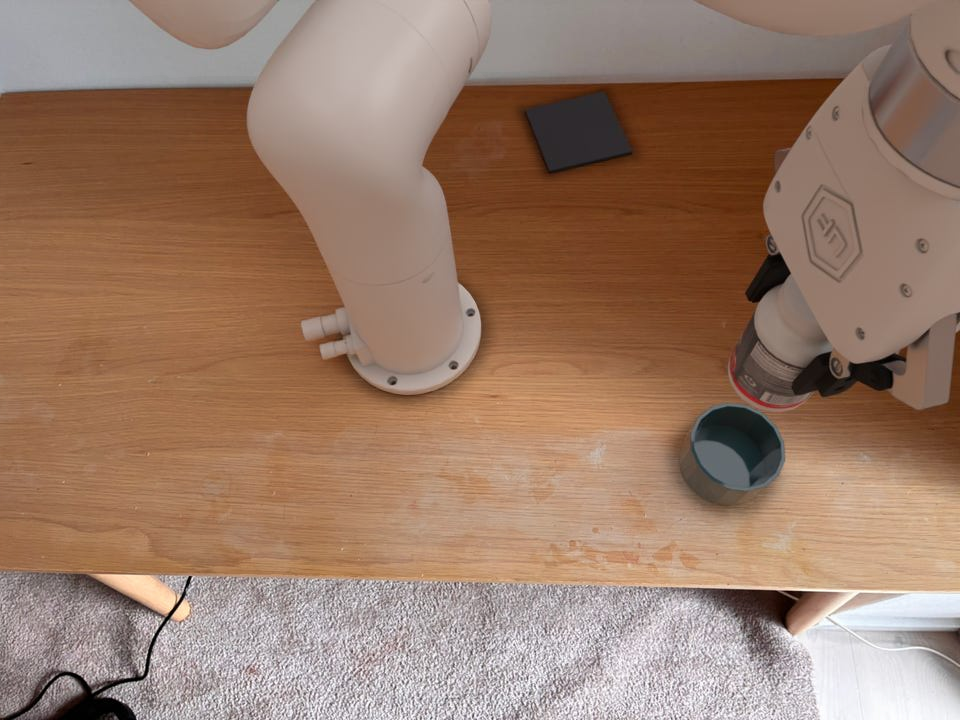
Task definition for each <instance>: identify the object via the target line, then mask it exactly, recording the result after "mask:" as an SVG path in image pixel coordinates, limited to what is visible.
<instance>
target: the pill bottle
mask: <svg viewBox="0 0 960 720" xmlns="http://www.w3.org/2000/svg"><path fill="white" fill-rule="evenodd" d="M832 350H833V346H832V345H831V343H830V342H829V340H828V339H827V337H826V336H825V334H824V332H823V331H822V329H821V327H820V325H819V324H818V322H817V320H816V318H815V316H814V315H813V313H812V311H811V309H810V307H809V305H808V304H807V302H806V300H805V298H804V296H803V294H802V293H801V291H800V289H799V287H798V285H797V283H796V281H795V279H794V278H793V276H792V274H790V275H789V277H788V278H787V279H786V281H785V282H784V283H782V284H780V285H778V286H776V287H774V288H772V289H771V290H770V291H768V292H767V293H766V294H765V295H764V296H763V298H762V299H761V301H760V302H757V306H756V307H755V309H754V311H753V313H752V315H751V317H750V319H749V321H748V323H747V325H746V326H745V328H744V330H743V332H742V333H741V335H740V336H739V338H738V340H737V343H736V344H735V346H734V348H733V349H732V352H731V354H730V356H729V359H728V363H727V373H728V374H727V376H728V379H729V383H730V385H731V387H732V388H733V390H734V391H735V393H736V394H737V395H738V397H739V398H740V399H742V400H743V401H744V402H745V403H747V404H748V405H751V407H754V408H755V409H757V410H758V409H759V410H761V411H765V412H772V413H773V412H774V413H775V412H776V413H781V412H783V413H784V412H789V411H791V410H794V409H796V408H798V407H800V406H801V405H803V404H804V403H805V402H806V401H808V399H810V397H811V396H812V395H813V393H814V392H810V393H806V394H802V395H797V396H796V395H795V394H794V392H793V390H792V388H791V386H792V385H793V384H792V382H793V381H794V379H795V378H796V377H797V376H798V375H799V374H800V373H801V372H802V371H803V370H804V369H805V368H806V367H807V366H808V365H809V363H810V362H811V361H812V360H813V359H814V358H815V357H816V356H818V355H820V354H823V353H827V352H831V351H832Z"/></svg>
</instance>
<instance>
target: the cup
mask: <svg viewBox="0 0 960 720" xmlns="http://www.w3.org/2000/svg"><path fill="white" fill-rule="evenodd" d="M785 462H786V446H785V440H784V439H783V436H782V434H781V432H780V431H779V428H778V426H777V425H776V424H775V423H774V422H773V421H772V420H771V419H770V418H769V417H768V416H767V415H766V414H765V413H764V412H762V411H760V410H758V409H757V408H755V407H754V408H753V406H749V405H747V404H743V403H734V402H725V403H722V404H718V405H713V406H710V407H709V408H707V409H706V410H705V411H704V412H703V413H701V414H700V415H698V417H697V418H696V419H695V421H694V423H693V424H692V426H691V428H690V429H689V430H688V432H687V433H686V435H685V437H684V439H683V440H682V443H681V445H680V448H679V452H678V467H679V471H680V472H681V473H680V474H681V476H682V478H683V480H684V482H685V483H686V485H687V486H688V488H690V490H691V491H692V492H693V493H694V494H696V495H697V496H698V497H700V498H701V499H703V500H704V501H707V502H709V503H712V504H715V505H717V506H725V507H728V506H729V507H731V506H738V505H742V504H745V503H746V502H749V501H751V500H752V499H754V498H755V497H756V496H757V495H758V494H759V493H761V492H762V491H763V490H765V488H766V487H768V486H769V485H770V484H771V483H772V482H773V481H774V480H776V479H777V478H778V477H779V476H780V474H781V471H782V469H783V467H784V465H785Z"/></svg>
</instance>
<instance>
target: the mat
mask: <svg viewBox="0 0 960 720" xmlns="http://www.w3.org/2000/svg"><path fill="white" fill-rule="evenodd" d="M605 92H606V91H600V92H599V91H598V92H595V93H590V94H586V95H583V96H579V97H574V98H570V99H564V100H559V101H556V102H551V103H548V104H543V105H539V106H535V107H531V108H530V107H529V108H526V109H524V113H525V116H526V119H527V121H528V123H529V126H530V128H531V130H532V133H533V136H534V138H535V140H536V143H537V146H538V149H539V151H540V154H541V156H542V158H543V161H544V164H545V166H546V169H547V171H548V173H549V174H553V173H557V172H561V171H564V170H569V169H573V168H577V167H582V166H586V165H591V164H595V163H597V162H598V163H599V162H602V161H607V160H611V159H615V158H619V157H625V156H628V155H632V154H633V153H634V151H633V149H632V147H631V144H630V142H629V140H628V139H627V136H626V134H625V132H624V129H623V128H622V126H621V123H620V121H619V120H618V118H617V116H616V113H615V111H614V109H613V106H612V105H611V103H610V101H609V98H608V96H607V95H606V93H605Z"/></svg>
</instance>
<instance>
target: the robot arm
mask: <svg viewBox="0 0 960 720" xmlns="http://www.w3.org/2000/svg"><path fill="white" fill-rule="evenodd" d="M279 1H280V0H128V2H129V3H131V4H132V5H133V6H134V7H135V8H136V9H137V10H138V11H140V12H141V14H143V15H144V16H145V17H146V18H148V19H149V20H150V21H151V22H152V23H154V24H155V25H156V26H157V27H158V28H160V29H161V30H162V31H163V32H165V33H167V34H168V35H170V36H171V37H173V38H174V39H176V40H177V41H179V42H181V43H183V44H186V45H187V46H190V47H192V48H196V49H202V50H207V51H208V50H210V51H211V50H212V51H213V50H219V49H222V48H225V47H228V46H231V45H232V44H234V43H236V42H237V41H239V40H240V39H242V38H243V37H245V36H246V35H247V34H249V32H251V31H252V30H253V29H254V28H255V27H256V26H258V24H259V23H261V21H262V20H263V19H264V18H266V16H267V15H268V14H269V13H270V11H271V10H272V9H273V8H274V7H275V6H276V5H277V4H278V3H279ZM693 1H694V2H696V3H698V4H700V5H702V6H704V7H706V8H708V9H710V10H713V11H715V12H718V13H719V14H722V15H724V16H727V17H729V18H731V19H733V20H736V21H737V22H740V23H741V24H745V25H748V26H751V27H754V28H759V29H762V30H766V31H771V32H774V33H779V34H784V35H790V36H791V35H792V36H802V37H803V36H804V37H812V38H813V37H814V38H821V37H822V38H823V37H833V36H842V35H852V34H860V33H863V32H867V31H870V30H874V29H877V28H880V27H885V26H888V25H891V24H894V23H895V22H897V21H900V20H902V19H904V18H906V17H907V18H906V20H905V22H904V23H903V25H902V27H901V28H900V30H899V32H898V33H897V35H896V37H895V38H894V40H893V42H892V43H891V44H886V45H882V46H880V47H878V48H875V49H873V50H872V51H870V53H868V54H867V56H865V57H864V58H863V59H862V60H861V61H860V62H859V63H858V64H857V66H856V67H854V68H853V70H852V71H851V72H850V73H848V75H847V76H846V77H845V78H844V79H843V80H842V81H841V83H839V85H837V87H835V89H834V90H833V91H832V92H831V93H830V94H829V96H828V97H826V99H825V101H824V102H823V103H822V104H821V106H820V107H819V108H818V110H817V111H816V112H815V113H814V115H813V116H812V117H811V119H810V120H809V122H808V123H807V124H806V125H805V127H804V128H803V130H802V132H801V133H800V135H799V136H798V138H797V139H796V141H795V142H794V143H793V144H792V147H786V148H783V149H778V150H776V151H775V152H774V153H773V157H772V162H773V173H774V176H773V178H772V181H771V182H770V184H769V186H768V188H767V190H766V193H765V195H764V198H763V203H762V210H763V211H762V212H763V217H764V220H765V223H766V224H765V225H766V226H767V228H768V231H769V233H768V234H767V235H766V237H765V242H764V243H765V248H766V250H767V253H768V254H767V256H766V258H765V259H764V261H763V263H762V264H761V265H760V268H759V269H758V270H757V272H756V274H755V275H754V277H753V279H752V280H751V282H750V284H749V285H748V287H747V288H746V291H745V292H744V295H745V297H746V298H747V300H748V302H751V303H752V304H758V303H759V302H760V301H761V299H762V298H763V296H764V295H765V294H766V293H767V292H768V291H770V290H771V289H772V288H774V287H776V286H778V285H780V284H782V283H784V282H785V281H786V279H787V278H788V277H789V275H790V274H792V276H793V278H794V279H795V281H796V283H797V285H798V287H799V289H800V291H801V293H802V294H803V296H804V298H805V300H806V302H807V304H808V305H809V307H810V309H811V311H812V313H813V315H814V316H815V318H816V320H817V322H818V324H819V325H820V327H821V329H822V331H823V332H824V334H825V336H826V337H827V339H828V340H829V342H830V343H831V345H832V346H833V350H832V351H831V352H827V353H823V354H820V355H818V356H816V357H815V358H814V359H813V360H812V361H811V362H810V363H809V365H808V366H807V367H806V368H805V369H804V370H803V371H802V372H801V373H800V374H799V375H798V376H797V377H796V378H795V379H794V381H793V382H792V384H793V385H792V386H791V388H792V390H793V392H794V394H795V395H796V396H797V395H802V394H806V393H810V392H813V393H814V392H817V391H818V393H819V395H820V397H821V398H828V397H831V396H836V395H839V394H842V393H844V392H846V391H848V390H849V389H850V388H852V387H853V386H854V385H855V384H856V383H861V384H863V385H865V386H867V387H869V388H871V389H872V390H875V391H878V392H882V391H886V392H888V393H889V394H890V396H891V397H893V398H895V399H896V400H898V401H900V402H901V403H903V404H905V405H906V406H908V407H909V408H912V409H913V410H915V411H923V410H927V409H930V408H934V407H938V406H941V405H946V404H947V403H948V402H949V400H950V395H951V383H952V373H953V365H954V363H953V362H954V353H955V344H956V343H955V342H956V334H957V333H959V331H960V0H693ZM492 20H493V19H492V8H491V3H490V0H314V1H313V2H312V3H311V4H310V6H309V7H308V8H307V10H306V11H305V12H304V13H303V14H302V16H301V17H300V19H299V20H298V21H297V22H296V24H295V25H294V26H293V27H292V29H291V30H290V31H289V32H288V34H286V36H285V37H284V38H283V40H282V41H281V42H280V43H279V44H278V46H277V47H276V49H275V50H274V52H272V54H271V56H270V57H269V58H268V60H267V61H266V63H265V65H264V66H263V68H262V69H261V71H260V73H259V75H258V77H257V79H256V82H255V83H254V85H253V88H252V90H251V92H250V96H249V100H248V105H247V110H246V129H247V134H248V137H249V140H250V144H251V145H252V147H253V150H254V152H255V153H256V155H257V157H258V158H259V160H260V161H261V162H262V164H263V165H264V167H265V168H266V170H267V171H268V172H269V173H270V174H271V175H272V177H273V178H274V180H275V181H276V182H277V183H278V184H279V186H280V187H281V189H283V190H284V192H285V193H286V194H287V196H288V197H289V198H290V199H291V201H292V202H293V203H294V205H295V207H296V208H297V210H298V211H299V212H300V214H301V216H302V218H303V220H304V222H305V224H307V227H308V229H309V231H310V233H311V235H312V237H313V240H314V242H315V244H316V246H317V248H318V250H319V253H320V255H321V257H322V259H323V261H324V263H325V265H326V268H327V270H328V272H329V275H330V276H331V279H332V281H333V284H334V286H335V288H336V291H337V292H338V295H339V298H340V300H341V302H342V304H343V307H339V308H336V309H335V313H331V314H328V315H323V316H322V315H321V316H320V315H319V316H315V317H311V318H307V319H303V320H300V328H301V332H302V334H303V337H304V340H305V341H306V342H307V343H308V342H312V341H316V340H320V339H325V338H327V337H328V336H332V335H335V334H340V333H341V336H342V339H340V340H336V341H334V340H332V341H329V342H325V343H321V344H319V351H320V355H321V358H322V361H325V360H330V359H333V358H337V357H338V356H343V355H347V358H348V360H349V363H351V366H352V367H353V369H354V370H355V371H356V373H357V374H358V375H359V376H360V377H361V378H362V379H363V380H365V381H366V382H367V383H368V384H370V385H371V386H373V387H375V388H377V389H379V390H381V391H382V392H386V393H391V394H395V395H404V396H411V395H412V396H414V395H423V394H427V393H430V392H431V393H432V392H434V391H437V390H439V389H441V388H444V387H446V386H447V385H449V384H451V383H452V382H454V381H455V380H457V379H458V378H459V377H460V376H461V375H462V374H463V373H464V372H465V371H466V370H467V369H468V368H469V366H470V365H471V363H472V362H473V361H474V360H475V357H476V355H477V352H478V351H479V348H480V344H481V339H482V320H481V313H480V310H479V308H478V305H477V303H476V301H475V300H474V297H473V296H472V294H471V293H470V291H468V290H467V289H466V287H464V286H463V285H462V284H461V283H460V282H459V281H458V274H457V268H456V260H455V251H454V246H453V240H452V239H453V238H452V233H451V226H450V220H449V213H448V212H449V211H448V206H447V201H446V197H445V195H444V191H443V188H442V186H441V184H440V183H439V181H438V179H437V178H436V177H435V176H434V174H433V173H432V172H431V171H430V170H428V169H427V168H426V167H424V166H423V163H424V160H425V157H426V153H427V152H428V149H429V147H430V146H431V143H432V141H433V140H434V137H435V136H436V134H437V132H438V131H439V129H440V127H441V126H442V125H443V122H444V121H445V119H446V118H447V116H448V114H449V111H450V109H451V108H452V106H453V105H454V102H456V100H457V98H458V96H459V95H460V94H461V92H462V90H463V89H464V87H465V85H466V84H467V82H468V80H469V79H470V77H471V76H472V74H473V72H474V71H475V69H476V68H477V66H478V64H479V62H480V60H481V58H482V57H483V54H484V53H485V51H486V48H487V45H488V43H489V40H490V35H491V31H492ZM904 348H906V355H905V357H904V356H902V355H900V352H901V350H903V349H904ZM453 368H455V369H453Z"/></svg>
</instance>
